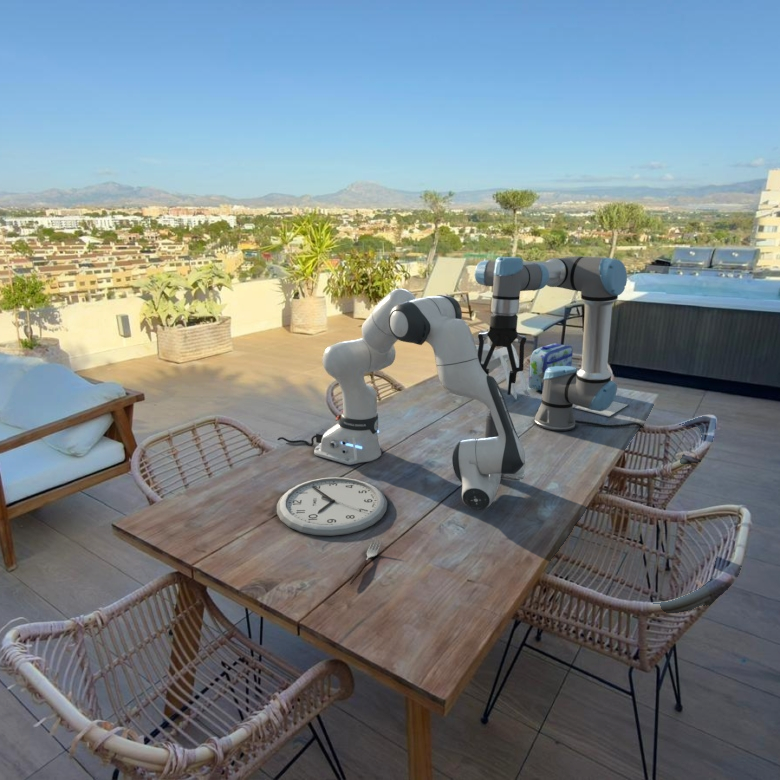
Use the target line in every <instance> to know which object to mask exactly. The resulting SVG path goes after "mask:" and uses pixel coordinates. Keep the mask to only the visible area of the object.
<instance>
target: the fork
mask: <svg viewBox="0 0 780 780" xmlns="http://www.w3.org/2000/svg"><path fill="white" fill-rule="evenodd" d="M376 540H377V543H376ZM379 540H380V542H379ZM373 541H374V542H373ZM382 541H383V539H379V538H378V539H377V538H375V540H374V538H372V540H371V542H370V544H369V547H368V549H367V551H366V556H367V557H366V558H365V559H364V561H362V563H361V564H360V565H359V566H358V567H357V569H356V571H355V573H354V575H353V577H352V579H351V581H350V583H349V585H352V584H353V583H354V582H355V581H356V579H357V578H358V577H359V576H360V574H361V573H363V571H364V569H365V567H366V564H367V563H368V560H369V559H371V558H374V557H376V556H377V555H378V554H379V551H380V548H381V544H382ZM378 543H379V545H378ZM372 544H373V545H372Z"/></svg>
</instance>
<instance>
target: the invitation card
mask: <svg viewBox="0 0 780 780" xmlns="http://www.w3.org/2000/svg"><path fill="white" fill-rule="evenodd" d="M628 406H629V404H627V403H623V402H618V401H614V400H613V402H612V403H611V405H610V406H609V407H608V408H607V409H606V410H604V411H596V410H590V409H588V408H585V407H581V406H578V405H575V406H574V407H573V409H575V410H581V411H584V412H587V413H593V414H596V415H600V416H604V417H608V418H609V417H611V416H613V415H614V414H616V413H617V412H619V411H621V410H623V409H624V408H626V407H628Z"/></svg>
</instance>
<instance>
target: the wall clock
mask: <svg viewBox="0 0 780 780" xmlns="http://www.w3.org/2000/svg"><path fill="white" fill-rule="evenodd" d="M387 509H388V500H387V498H386V496H385V494H384V493H383V492H382V491H381V490H380V489H379V488H377V487H376V486H374V485H372V484H371V483H369V482H365V481H362V480H359V479H355V478H349V477H338V476H337V477H335V476H333V477H332V476H331V477H322V478H317V479H312V480H307V481H305V482H302V483H299V484H297V485H295V486H293V487H292V488H290V489H288V490H287V491H286V492H285V493H284V494H283V495H281V496H280V498H279V499H278V502H277V503H276V515H277V517H278V518H279V520H280V521H281V522H282V523H283V524H285V525H286V526H287V527H288V528H290V529H293V530H295V531H297V532H299V533H303V534H308V535H312V536H327V537H328V536H329V537H331V536H332V537H333V536H342V535H350V534H352V533H356V532H361V531H363V530H366V529H368V528H369V527H372V526H373V525H375V524H376V523H378V522H379V521H380V520H381V519H382V518H383V517H384V516H385V514H386V512H387Z"/></svg>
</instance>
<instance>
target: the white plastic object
mask: <svg viewBox="0 0 780 780" xmlns="http://www.w3.org/2000/svg"><path fill="white" fill-rule="evenodd" d="M511 345H512V350H513V354H514V358H515V362H516V367H518V366H519V355H518V352H517V349H516V347H515V346H514V345H513V343H512V344H511ZM478 348H479V344H478V345H476V349H477V354H478ZM490 348H491V345H490V344H489V343H488V342H487V343H484V347H483V353H482V360H481V363H482V364H484V362H485V359H486V357H487V355H488V352H489V350H490ZM508 361H510V359H509V355H508V351H507V347H503V346H502V347H500V348H498V349H496V350H495V349H494V351H493V354H492V356H491V359H490V361H489V363H488V366H487V369H489V374H490V373H492V372H494V371H495V370H496V369H497V368H499V367H500V366H502V370H503V373H504V376H505V380H506V383H507V386H508V385H509V374H510V371H511V370H510V369H509V365H508ZM517 376H518V380H519V382H520V385H521V389H522V391H523V393H524V395H525V396H526V397H528V396H531V395H530V390H529V386H528V384H527V381H526V378H525V375H524V370H523V371H519V372H517ZM516 391H517V390H516V388H515V385H514V383H511V393H510V395H512V397H513V398H514V399H515V400H517V392H516Z"/></svg>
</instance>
